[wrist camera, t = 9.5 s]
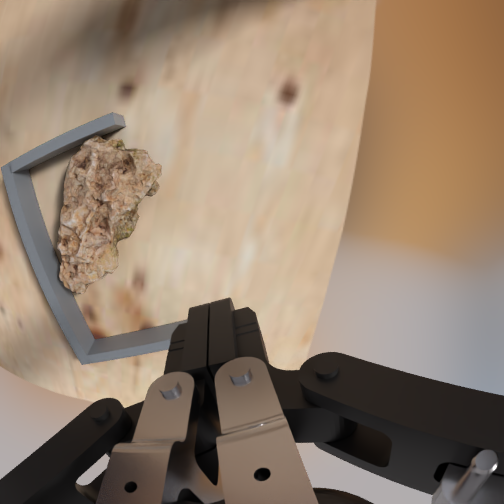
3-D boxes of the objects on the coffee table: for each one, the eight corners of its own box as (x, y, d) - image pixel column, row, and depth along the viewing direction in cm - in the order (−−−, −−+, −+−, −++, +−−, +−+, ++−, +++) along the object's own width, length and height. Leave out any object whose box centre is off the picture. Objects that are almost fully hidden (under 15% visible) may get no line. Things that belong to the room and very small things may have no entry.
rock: (139, 309, 32) (52, 296, 28) (139, 285, 36) (62, 273, 32) (170, 151, 26) (65, 133, 22) (168, 146, 30) (78, 130, 27)
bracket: (123, 115, 28) (112, 112, 24) (190, 327, 36) (189, 344, 33) (17, 164, 27) (0, 167, 24) (90, 348, 36) (81, 364, 32)
